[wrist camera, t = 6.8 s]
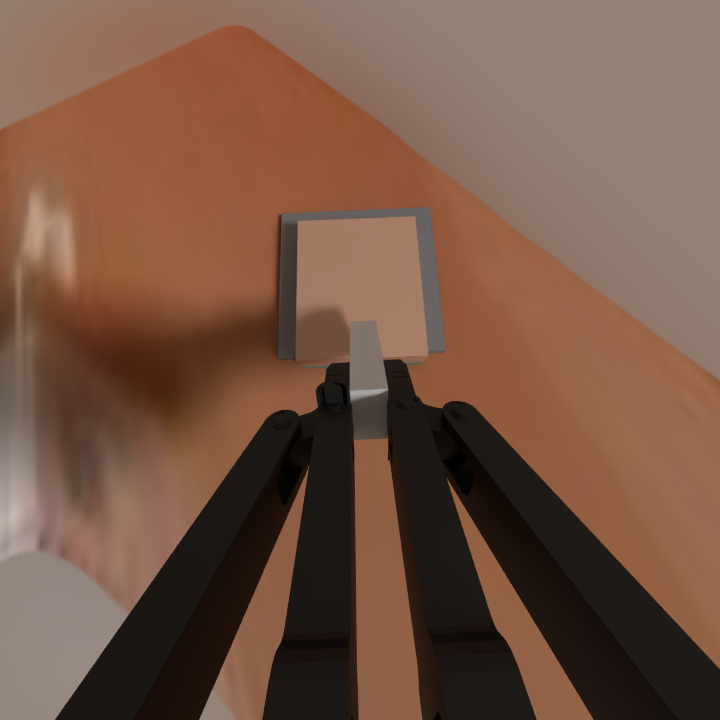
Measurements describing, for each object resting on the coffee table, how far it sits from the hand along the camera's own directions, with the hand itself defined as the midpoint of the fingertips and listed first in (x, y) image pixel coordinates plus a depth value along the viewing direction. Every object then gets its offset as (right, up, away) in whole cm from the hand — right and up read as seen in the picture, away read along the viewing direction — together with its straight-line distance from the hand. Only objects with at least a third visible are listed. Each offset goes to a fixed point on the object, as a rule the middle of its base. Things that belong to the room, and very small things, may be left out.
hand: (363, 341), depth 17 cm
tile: (0, -1, +3) cm, 3 cm away
